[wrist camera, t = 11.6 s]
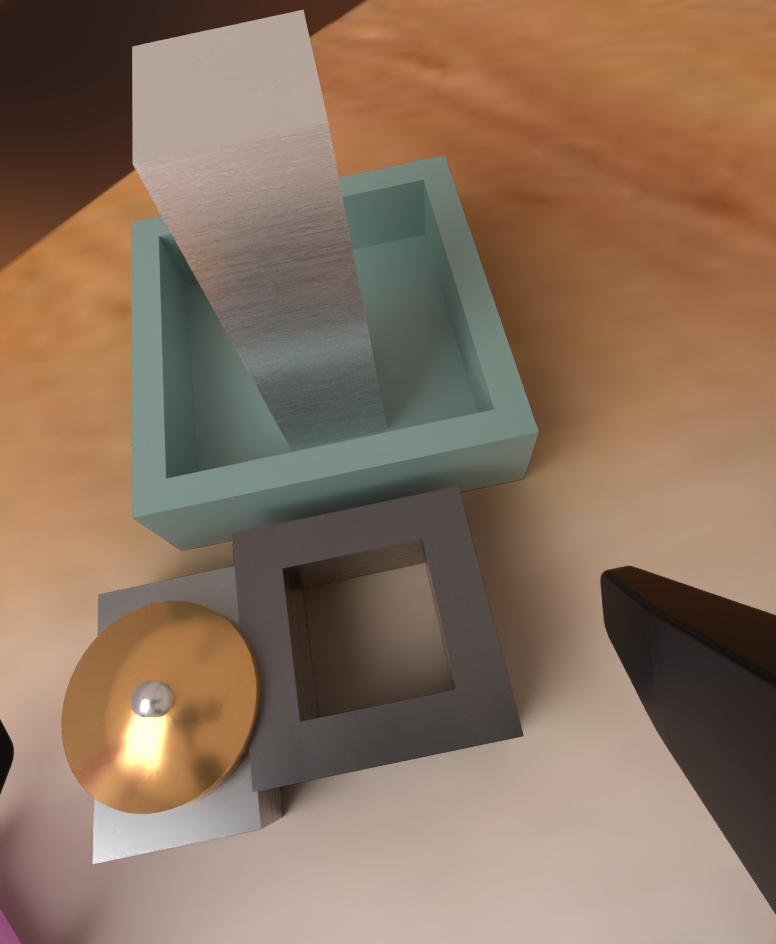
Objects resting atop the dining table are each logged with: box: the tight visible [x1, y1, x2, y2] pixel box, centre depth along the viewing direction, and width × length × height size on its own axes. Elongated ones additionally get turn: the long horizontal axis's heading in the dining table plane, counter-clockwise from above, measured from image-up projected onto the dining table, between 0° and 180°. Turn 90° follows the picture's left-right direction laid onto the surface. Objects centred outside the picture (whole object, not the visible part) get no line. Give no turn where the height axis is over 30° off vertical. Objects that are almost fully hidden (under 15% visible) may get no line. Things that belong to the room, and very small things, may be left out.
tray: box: [131, 155, 539, 551], centre depth 24 cm, size 14×14×4 cm
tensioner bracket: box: [62, 486, 523, 864], centre depth 19 cm, size 9×14×4 cm, turn 101°
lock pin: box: [132, 10, 387, 449], centre depth 18 cm, size 4×4×13 cm
